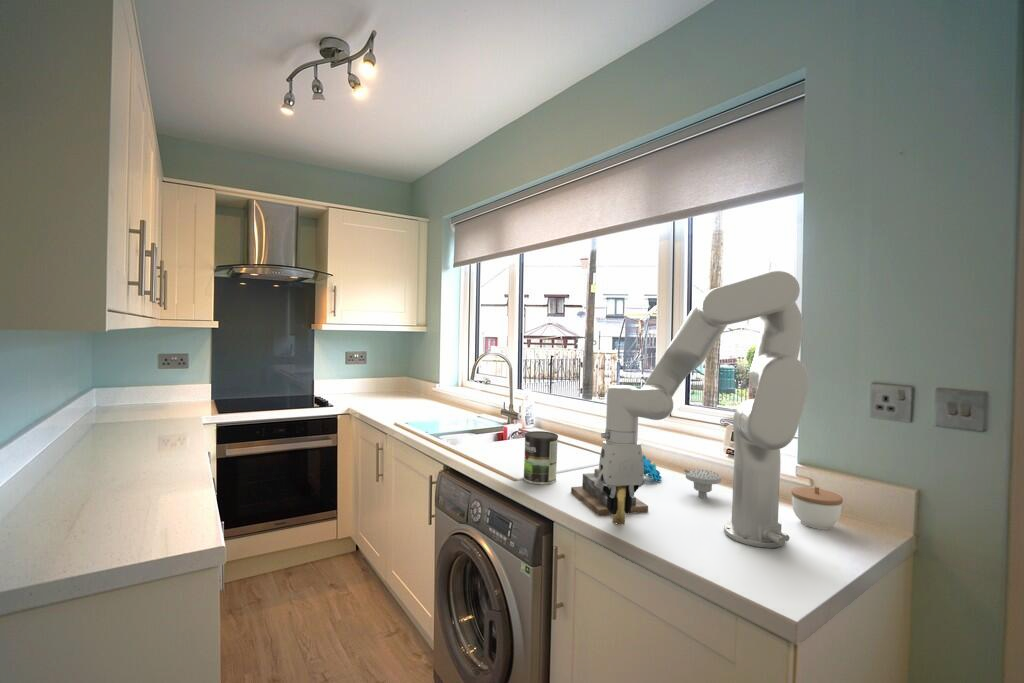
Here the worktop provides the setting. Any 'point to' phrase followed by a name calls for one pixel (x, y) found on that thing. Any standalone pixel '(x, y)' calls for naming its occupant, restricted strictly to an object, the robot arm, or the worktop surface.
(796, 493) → the lidded jar
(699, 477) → the showerhead
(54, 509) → the worktop surface
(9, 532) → the worktop surface
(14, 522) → the worktop surface
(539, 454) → the coffee can
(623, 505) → the brass pin
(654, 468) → the gear
